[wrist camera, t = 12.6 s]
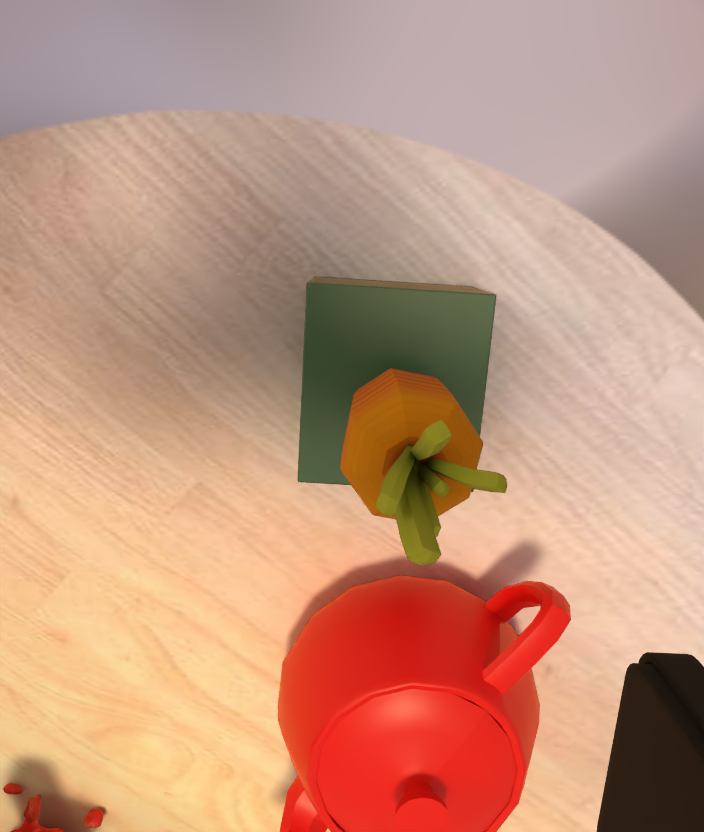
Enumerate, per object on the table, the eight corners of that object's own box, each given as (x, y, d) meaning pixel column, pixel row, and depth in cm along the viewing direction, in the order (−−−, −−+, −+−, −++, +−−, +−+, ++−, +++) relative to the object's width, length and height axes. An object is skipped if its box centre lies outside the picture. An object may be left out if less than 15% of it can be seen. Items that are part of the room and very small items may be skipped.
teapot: (437, 461, 40) (474, 553, 28) (615, 613, 42) (718, 756, 30) (182, 729, 44) (121, 904, 32) (357, 851, 47) (359, 1055, 35)
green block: (313, 276, 37) (306, 282, 31) (473, 286, 37) (496, 294, 31) (304, 447, 39) (297, 482, 34) (455, 456, 40) (473, 492, 34)
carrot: (379, 321, 32) (405, 386, 17) (463, 378, 32) (557, 487, 18) (321, 405, 33) (301, 535, 18) (404, 459, 33) (448, 624, 19)
